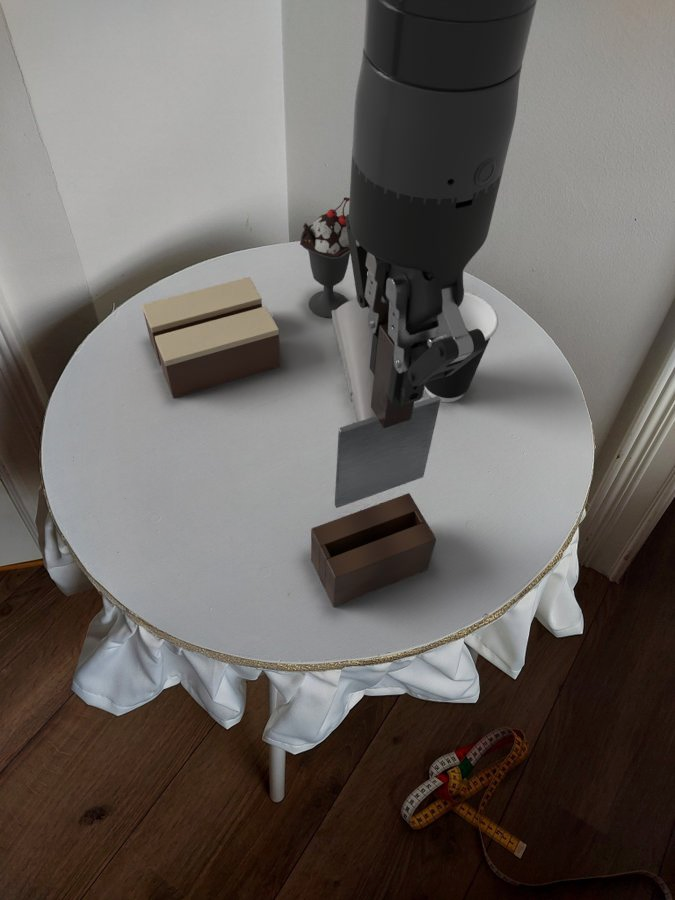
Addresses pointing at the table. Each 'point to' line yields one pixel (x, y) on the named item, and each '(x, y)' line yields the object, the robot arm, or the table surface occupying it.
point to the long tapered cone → (355, 354)
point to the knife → (384, 437)
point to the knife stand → (371, 549)
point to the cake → (212, 336)
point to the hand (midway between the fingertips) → (394, 384)
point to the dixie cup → (455, 385)
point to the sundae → (327, 258)
